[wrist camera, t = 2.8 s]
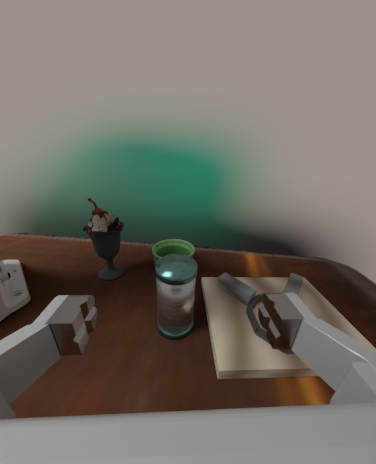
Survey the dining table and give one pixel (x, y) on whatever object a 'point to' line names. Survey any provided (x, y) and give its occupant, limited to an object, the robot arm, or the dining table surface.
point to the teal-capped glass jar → (175, 295)
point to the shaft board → (259, 325)
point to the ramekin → (172, 248)
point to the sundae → (105, 240)
